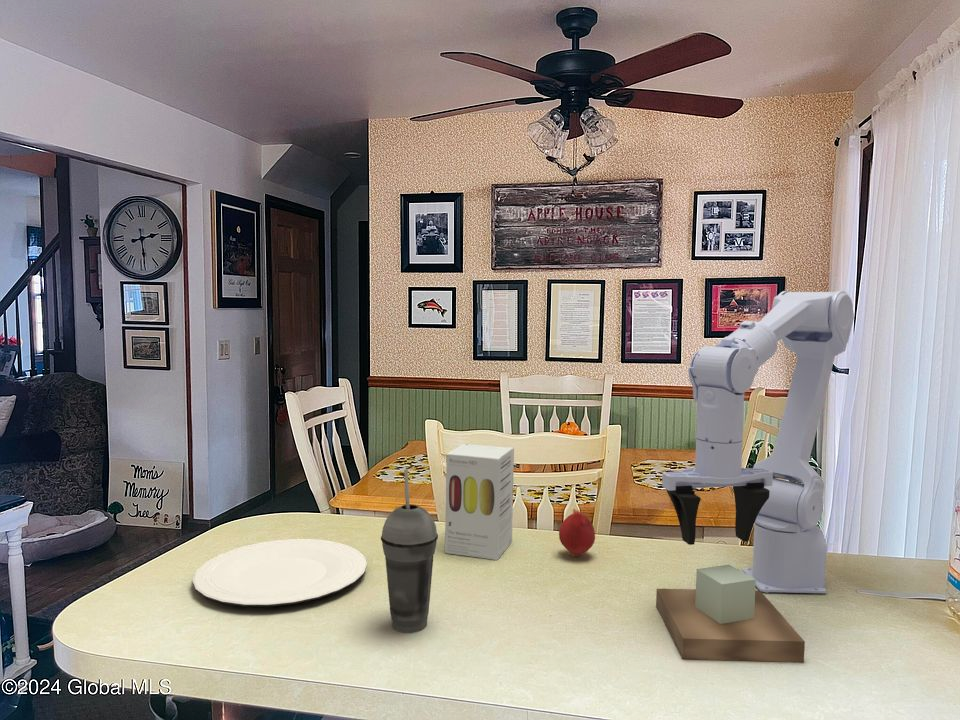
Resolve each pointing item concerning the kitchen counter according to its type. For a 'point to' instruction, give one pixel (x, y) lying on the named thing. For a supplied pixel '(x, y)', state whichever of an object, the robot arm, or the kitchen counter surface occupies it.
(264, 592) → the plate
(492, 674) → the kitchen counter surface
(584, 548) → the onion
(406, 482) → the beverage cup
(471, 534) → the supplement box
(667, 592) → the walnut base
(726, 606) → the sage block
